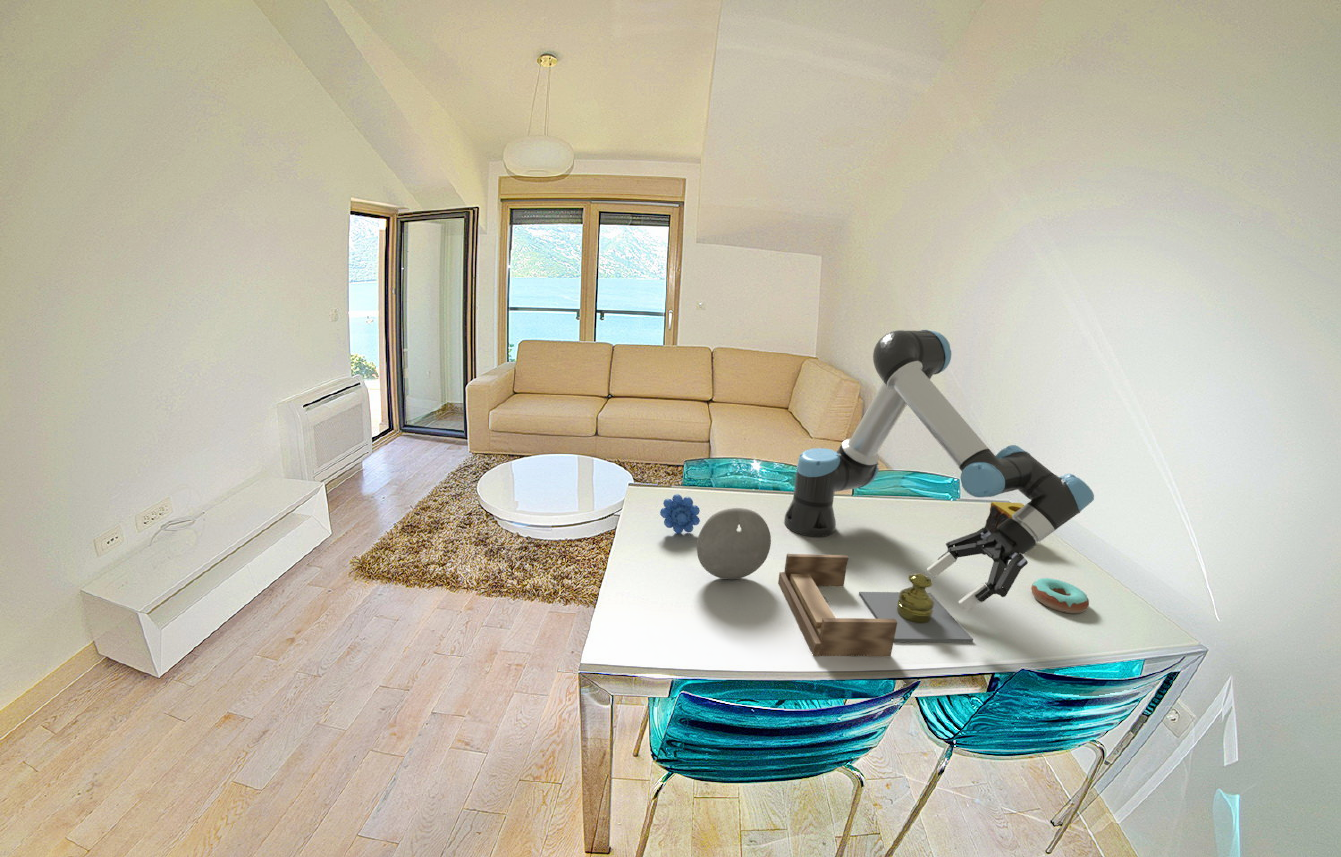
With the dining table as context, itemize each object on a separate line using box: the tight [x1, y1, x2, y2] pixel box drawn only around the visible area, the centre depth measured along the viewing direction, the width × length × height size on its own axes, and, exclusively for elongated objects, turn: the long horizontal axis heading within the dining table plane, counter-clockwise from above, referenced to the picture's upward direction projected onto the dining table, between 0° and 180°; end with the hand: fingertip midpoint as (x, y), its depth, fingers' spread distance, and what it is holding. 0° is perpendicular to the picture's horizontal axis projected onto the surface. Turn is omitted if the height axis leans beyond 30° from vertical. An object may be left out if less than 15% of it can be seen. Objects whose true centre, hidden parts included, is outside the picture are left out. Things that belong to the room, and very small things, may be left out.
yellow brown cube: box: [984, 501, 1026, 534], centre depth 174 cm, size 10×10×10 cm
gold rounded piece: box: [897, 572, 934, 623], centre depth 130 cm, size 7×7×10 cm
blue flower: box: [659, 493, 701, 534], centre depth 162 cm, size 12×7×12 cm, turn 100°
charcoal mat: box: [858, 591, 974, 643], centre depth 131 cm, size 18×18×1 cm
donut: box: [1030, 577, 1090, 614], centre depth 141 cm, size 12×12×4 cm
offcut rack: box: [777, 553, 897, 657], centre depth 128 cm, size 16×27×8 cm, turn 5°
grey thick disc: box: [696, 507, 772, 580], centre depth 140 cm, size 18×7×19 cm, turn 100°
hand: (945, 589), depth 130 cm, fingers open, 13 cm apart
